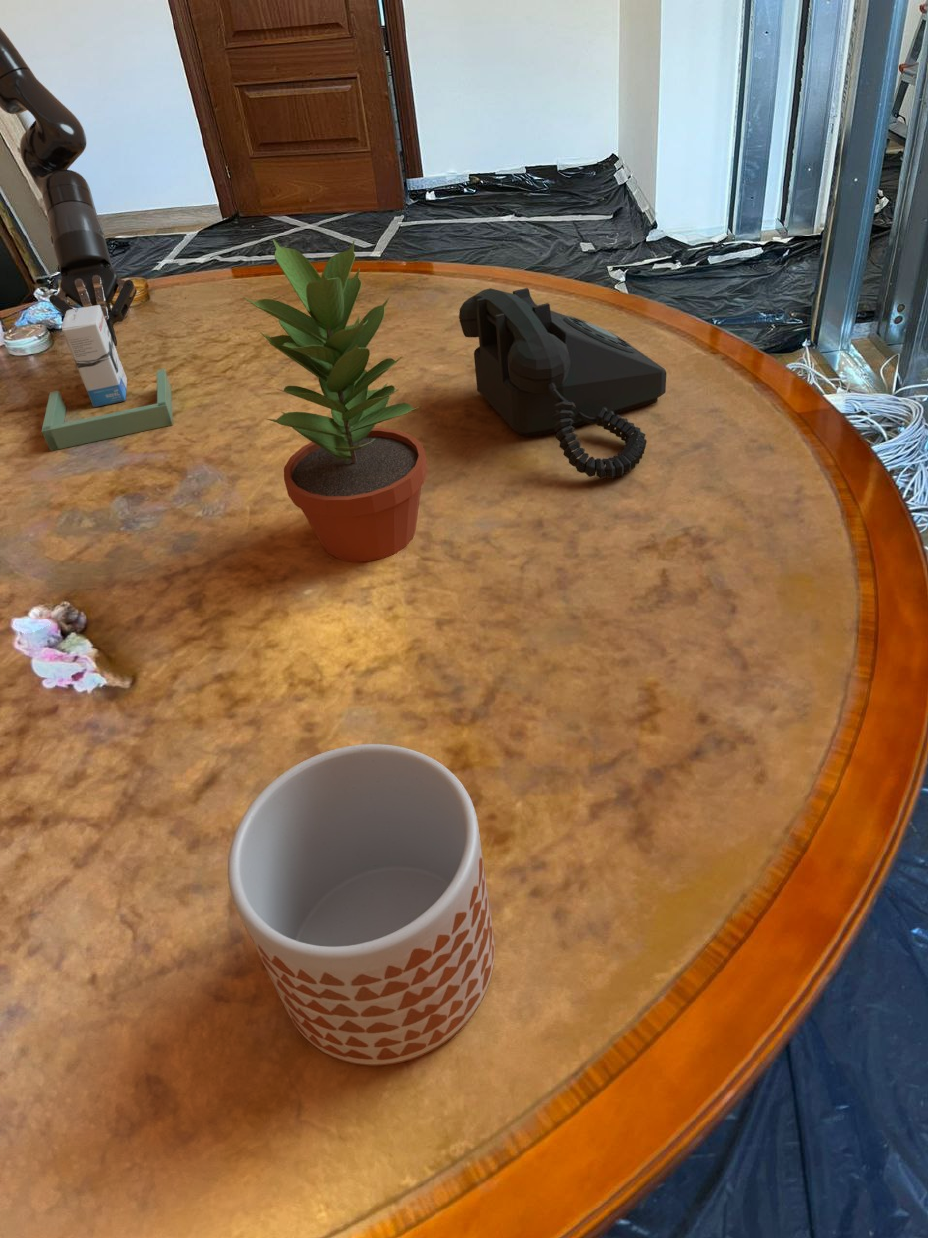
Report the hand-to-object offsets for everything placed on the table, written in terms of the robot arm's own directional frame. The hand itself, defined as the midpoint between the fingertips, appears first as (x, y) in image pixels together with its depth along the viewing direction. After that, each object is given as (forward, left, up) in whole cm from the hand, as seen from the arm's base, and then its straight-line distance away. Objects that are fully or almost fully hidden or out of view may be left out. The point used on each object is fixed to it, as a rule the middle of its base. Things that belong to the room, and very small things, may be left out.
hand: (108, 348), depth 129 cm
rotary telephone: (+70, -20, -5) cm, 73 cm away
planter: (+56, -93, -5) cm, 108 cm away
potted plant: (+47, -45, -5) cm, 65 cm away
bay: (+4, -13, -5) cm, 14 cm away
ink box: (+1, -5, -5) cm, 7 cm away
